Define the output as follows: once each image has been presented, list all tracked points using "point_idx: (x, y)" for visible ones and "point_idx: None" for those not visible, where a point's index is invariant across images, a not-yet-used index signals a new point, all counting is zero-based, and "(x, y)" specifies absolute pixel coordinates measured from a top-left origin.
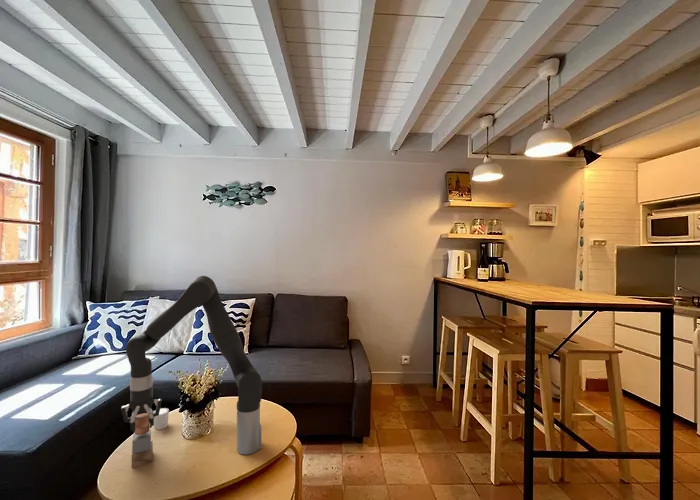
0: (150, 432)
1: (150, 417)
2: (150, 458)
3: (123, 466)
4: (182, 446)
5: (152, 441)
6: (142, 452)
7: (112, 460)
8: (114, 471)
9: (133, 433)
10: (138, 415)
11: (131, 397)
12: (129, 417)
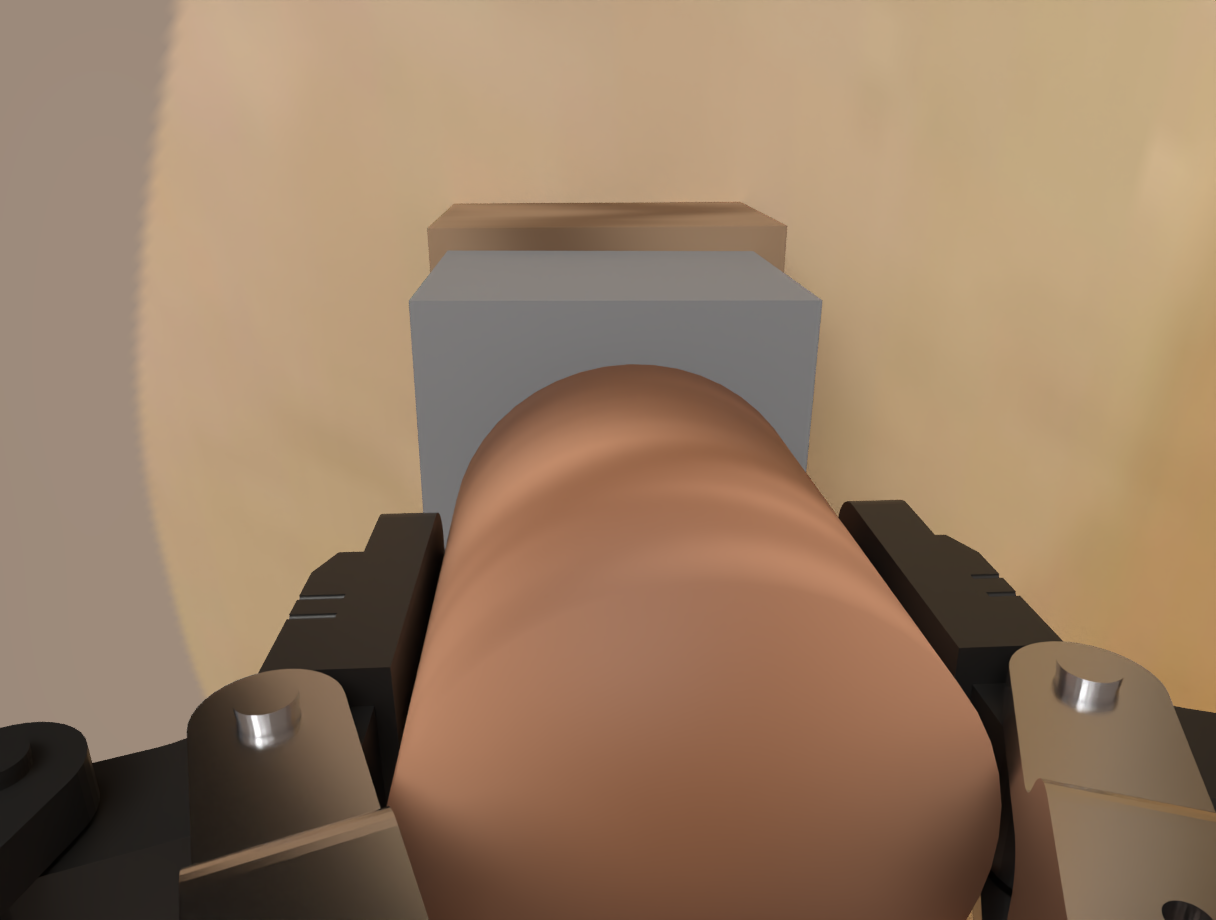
0: (804, 451)
1: (986, 900)
2: None
3: (357, 390)
4: (1156, 244)
5: (781, 255)
6: None
7: (158, 137)
8: (260, 457)
9: (416, 306)
10: (534, 716)
11: None
12: (131, 873)
